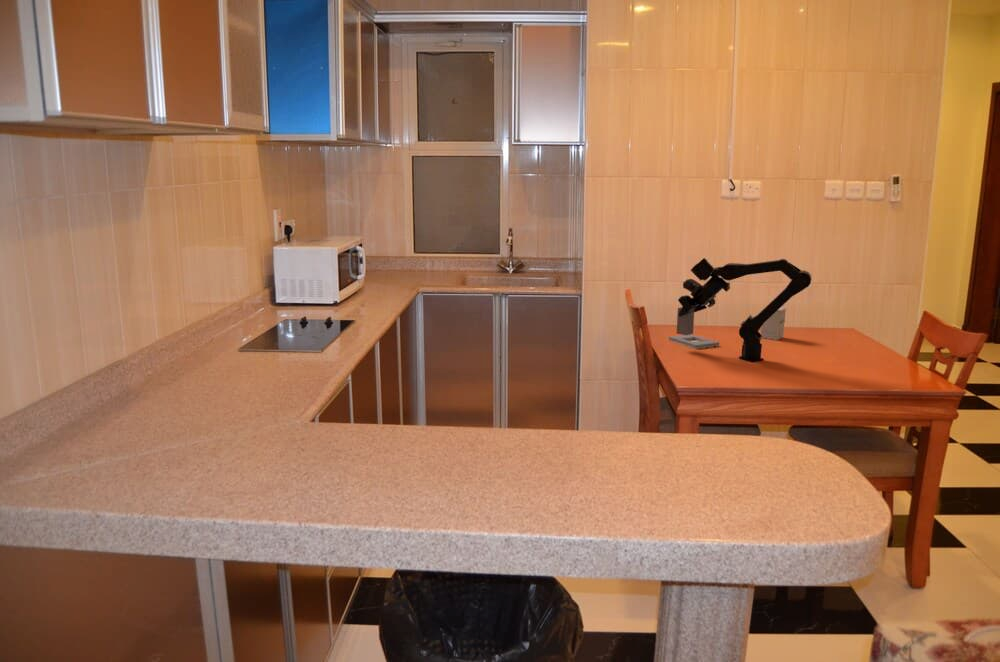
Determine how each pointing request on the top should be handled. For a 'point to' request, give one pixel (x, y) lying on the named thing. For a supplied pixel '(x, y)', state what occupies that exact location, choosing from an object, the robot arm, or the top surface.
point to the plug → (685, 323)
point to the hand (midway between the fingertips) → (682, 314)
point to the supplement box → (774, 325)
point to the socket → (693, 341)
